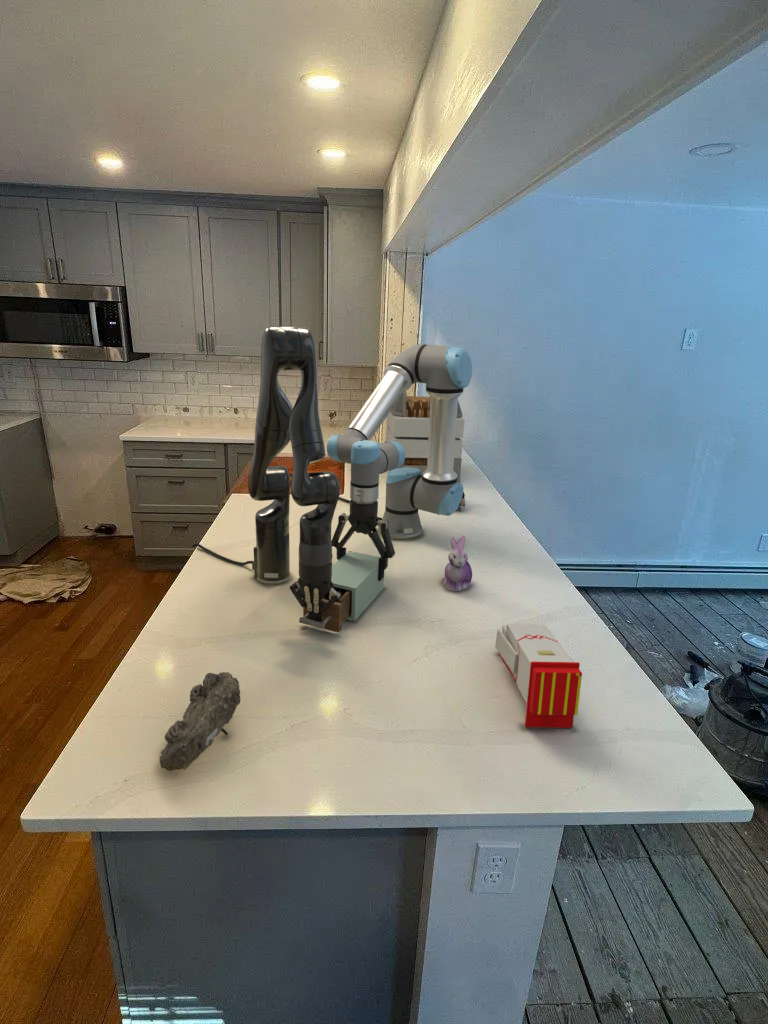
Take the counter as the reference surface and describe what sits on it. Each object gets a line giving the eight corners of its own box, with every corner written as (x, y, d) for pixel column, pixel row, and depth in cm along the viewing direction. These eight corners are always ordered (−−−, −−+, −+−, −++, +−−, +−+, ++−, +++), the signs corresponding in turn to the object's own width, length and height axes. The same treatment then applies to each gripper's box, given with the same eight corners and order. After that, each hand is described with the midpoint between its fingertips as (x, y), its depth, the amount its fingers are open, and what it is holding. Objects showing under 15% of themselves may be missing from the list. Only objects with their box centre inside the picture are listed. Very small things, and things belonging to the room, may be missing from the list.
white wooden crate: (382, 463, 289) (386, 382, 275) (445, 464, 293) (451, 384, 279) (390, 482, 257) (394, 392, 243) (460, 483, 261) (468, 394, 247)
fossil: (187, 673, 113) (240, 640, 108) (220, 704, 116) (274, 673, 111) (134, 764, 94) (196, 730, 89) (175, 799, 97) (237, 767, 92)
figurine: (453, 595, 158) (458, 546, 153) (434, 580, 167) (437, 532, 161) (481, 589, 162) (486, 541, 157) (460, 574, 171) (465, 528, 166)
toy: (542, 608, 134) (591, 669, 104) (537, 660, 136) (583, 734, 107) (491, 607, 133) (526, 668, 104) (487, 660, 136) (520, 733, 107)
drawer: (329, 643, 131) (329, 615, 129) (292, 633, 135) (292, 606, 132) (369, 598, 152) (370, 573, 150) (336, 591, 156) (337, 566, 153)
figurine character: (465, 515, 224) (460, 499, 237) (467, 498, 221) (462, 483, 234) (448, 515, 224) (444, 499, 237) (450, 498, 220) (445, 482, 234)
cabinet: (354, 621, 143) (355, 588, 140) (315, 611, 147) (316, 579, 143) (383, 588, 161) (385, 557, 158) (348, 580, 164) (349, 550, 161)
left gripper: (281, 558, 127) (282, 625, 133) (334, 570, 123) (333, 638, 129) (297, 546, 134) (298, 610, 140) (348, 556, 129) (347, 622, 135)
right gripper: (318, 496, 151) (317, 571, 158) (400, 511, 143) (396, 588, 151) (330, 489, 158) (329, 561, 165) (410, 502, 150) (405, 577, 157)
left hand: (315, 623), depth 134 cm, fingers closed
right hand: (361, 574), depth 158 cm, fingers closed on cabinet, 11 cm apart
